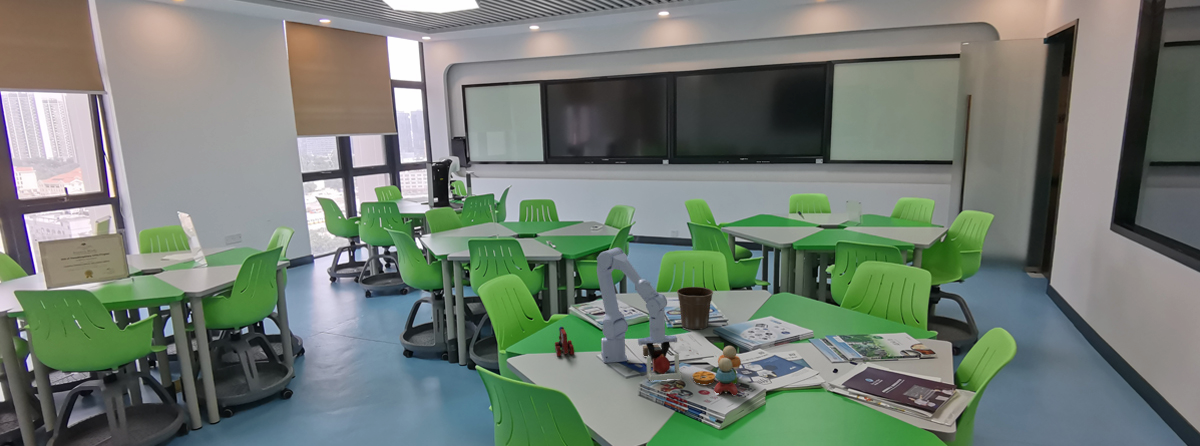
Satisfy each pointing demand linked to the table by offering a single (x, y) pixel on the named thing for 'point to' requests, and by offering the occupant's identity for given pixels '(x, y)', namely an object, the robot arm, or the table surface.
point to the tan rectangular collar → (645, 350)
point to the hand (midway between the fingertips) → (658, 361)
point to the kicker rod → (655, 355)
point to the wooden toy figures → (722, 372)
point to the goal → (663, 376)
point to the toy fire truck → (563, 344)
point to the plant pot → (695, 306)
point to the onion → (662, 364)
